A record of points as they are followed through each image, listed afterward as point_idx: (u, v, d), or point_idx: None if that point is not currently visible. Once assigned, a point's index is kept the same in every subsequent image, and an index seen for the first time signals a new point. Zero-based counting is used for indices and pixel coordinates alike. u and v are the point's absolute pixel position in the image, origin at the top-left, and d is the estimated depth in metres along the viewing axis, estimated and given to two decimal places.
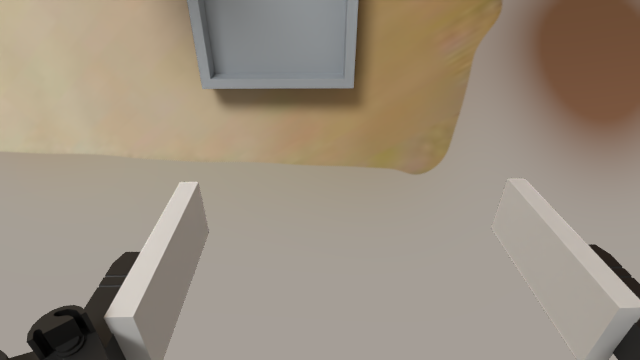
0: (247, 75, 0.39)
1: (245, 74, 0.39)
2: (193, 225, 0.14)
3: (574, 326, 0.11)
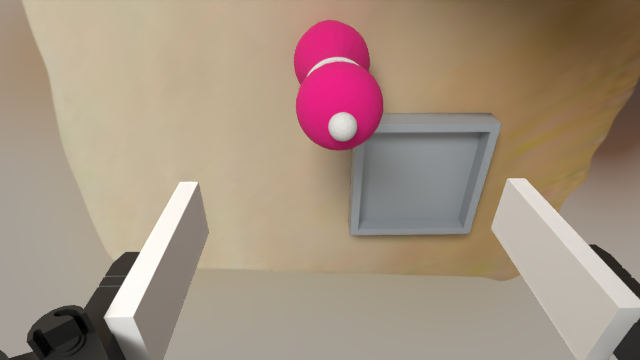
0: (383, 222, 0.49)
1: (381, 220, 0.49)
2: (193, 225, 0.14)
3: (574, 326, 0.11)
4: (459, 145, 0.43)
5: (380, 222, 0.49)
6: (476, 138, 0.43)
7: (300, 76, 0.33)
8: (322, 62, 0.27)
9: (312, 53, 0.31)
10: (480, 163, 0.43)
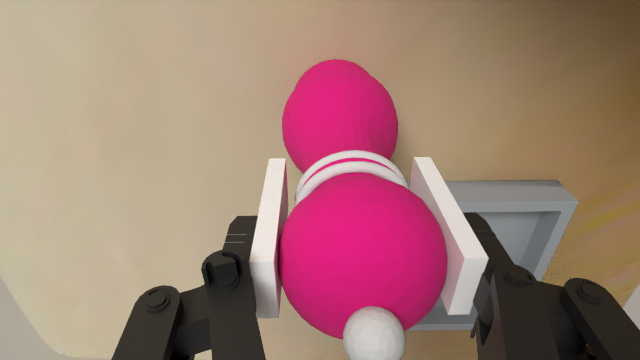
0: None
1: None
2: (284, 196, 0.16)
3: (445, 281, 0.13)
4: (512, 222, 0.32)
5: None
6: (536, 213, 0.31)
7: (291, 154, 0.21)
8: (327, 160, 0.15)
9: (310, 125, 0.19)
10: (542, 248, 0.31)
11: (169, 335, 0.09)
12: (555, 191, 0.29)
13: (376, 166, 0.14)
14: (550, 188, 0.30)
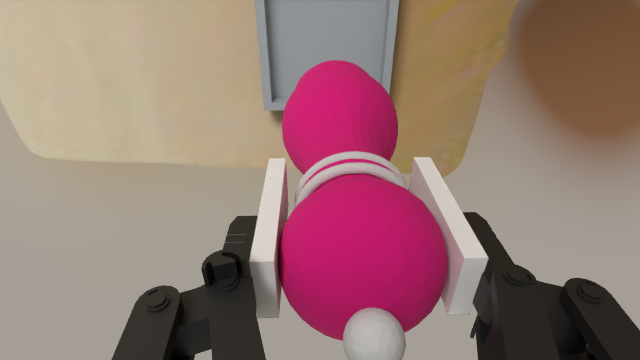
0: None
1: None
2: (285, 196, 0.16)
3: None
4: (367, 3, 0.42)
5: None
6: None
7: (291, 154, 0.21)
8: (327, 161, 0.15)
9: (310, 125, 0.19)
10: (388, 19, 0.41)
11: (169, 335, 0.09)
12: None
13: (376, 167, 0.14)
14: None
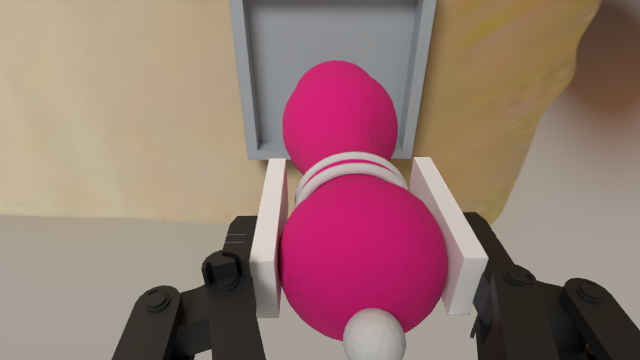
0: None
1: None
2: (284, 196, 0.16)
3: None
4: (388, 20, 0.31)
5: None
6: (411, 8, 0.30)
7: (291, 155, 0.21)
8: (327, 161, 0.15)
9: (310, 126, 0.19)
10: (416, 43, 0.30)
11: (169, 335, 0.09)
12: None
13: (376, 167, 0.14)
14: None
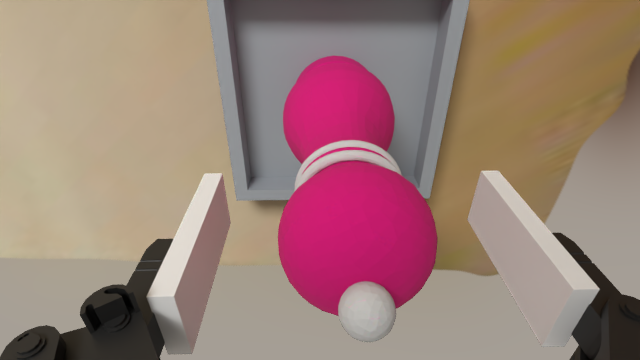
0: (293, 180, 0.31)
1: (290, 178, 0.31)
2: (218, 215, 0.15)
3: (536, 309, 0.12)
4: (404, 37, 0.25)
5: (287, 180, 0.30)
6: (433, 23, 0.25)
7: (291, 146, 0.22)
8: (325, 149, 0.16)
9: (309, 117, 0.20)
10: (440, 66, 0.25)
11: None
12: None
13: (371, 154, 0.15)
14: None
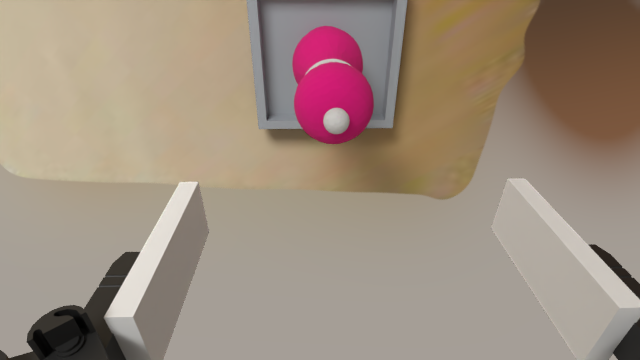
0: None
1: (295, 115, 0.44)
2: (193, 225, 0.14)
3: (574, 326, 0.11)
4: (371, 14, 0.39)
5: (294, 116, 0.44)
6: (389, 4, 0.38)
7: (298, 78, 0.35)
8: (318, 63, 0.29)
9: (309, 56, 0.33)
10: (393, 32, 0.38)
11: None
12: None
13: None
14: None
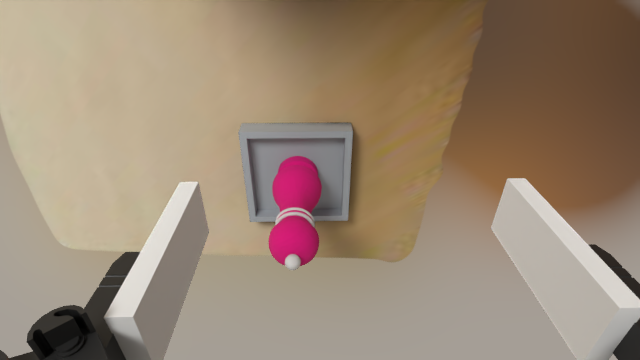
0: (278, 211, 0.60)
1: (277, 210, 0.60)
2: (193, 225, 0.14)
3: (574, 326, 0.11)
4: (328, 148, 0.54)
5: (276, 211, 0.60)
6: (341, 142, 0.54)
7: (275, 201, 0.51)
8: (285, 210, 0.45)
9: (282, 192, 0.49)
10: (344, 162, 0.54)
11: None
12: (344, 127, 0.52)
13: (300, 213, 0.44)
14: (342, 126, 0.52)
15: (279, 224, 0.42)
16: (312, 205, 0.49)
